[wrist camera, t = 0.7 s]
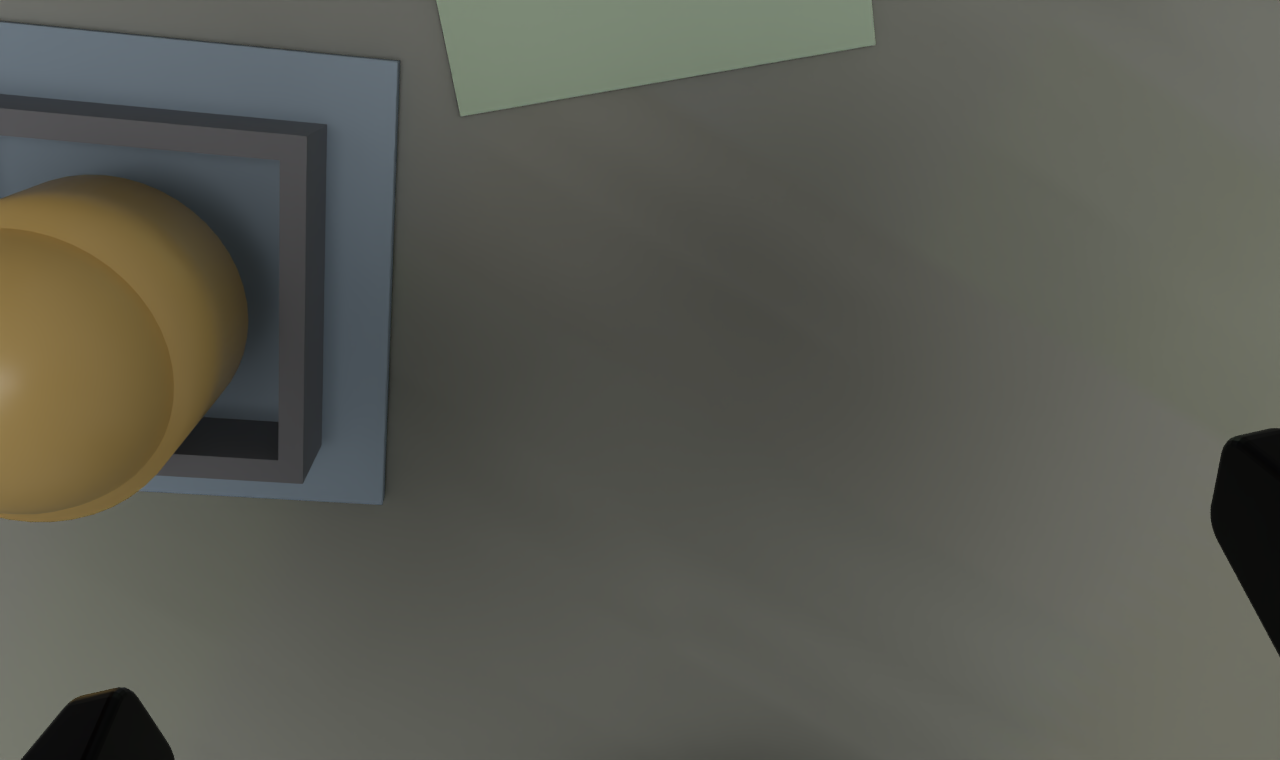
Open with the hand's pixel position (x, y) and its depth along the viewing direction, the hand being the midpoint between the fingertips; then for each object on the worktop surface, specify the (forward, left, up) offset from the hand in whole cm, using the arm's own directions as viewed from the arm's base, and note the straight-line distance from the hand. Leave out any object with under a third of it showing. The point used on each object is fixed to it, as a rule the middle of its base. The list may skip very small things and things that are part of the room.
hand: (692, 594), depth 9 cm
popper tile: (-2, +9, -17) cm, 20 cm away
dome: (-2, +9, -14) cm, 17 cm away
